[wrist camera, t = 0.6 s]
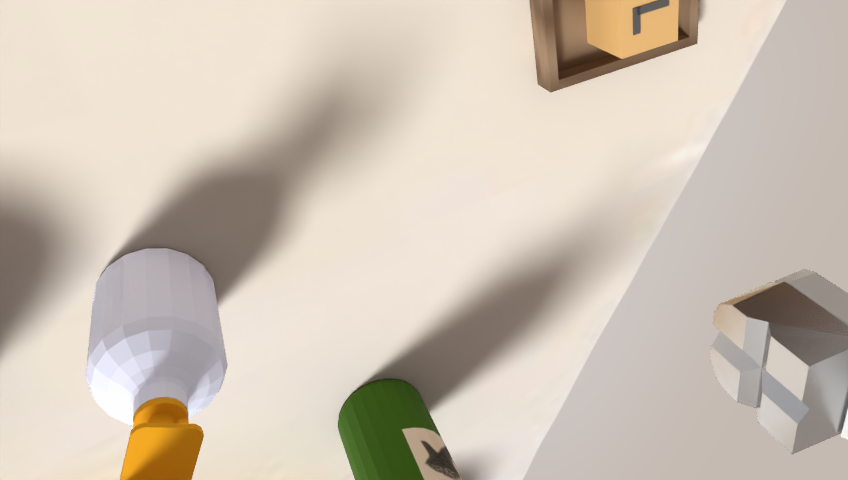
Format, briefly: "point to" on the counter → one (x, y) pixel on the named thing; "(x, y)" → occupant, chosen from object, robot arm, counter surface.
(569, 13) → the organiser
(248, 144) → the counter surface
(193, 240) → the counter surface
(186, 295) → the soap bottle
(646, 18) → the letter cube
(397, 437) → the wine bottle
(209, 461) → the counter surface
